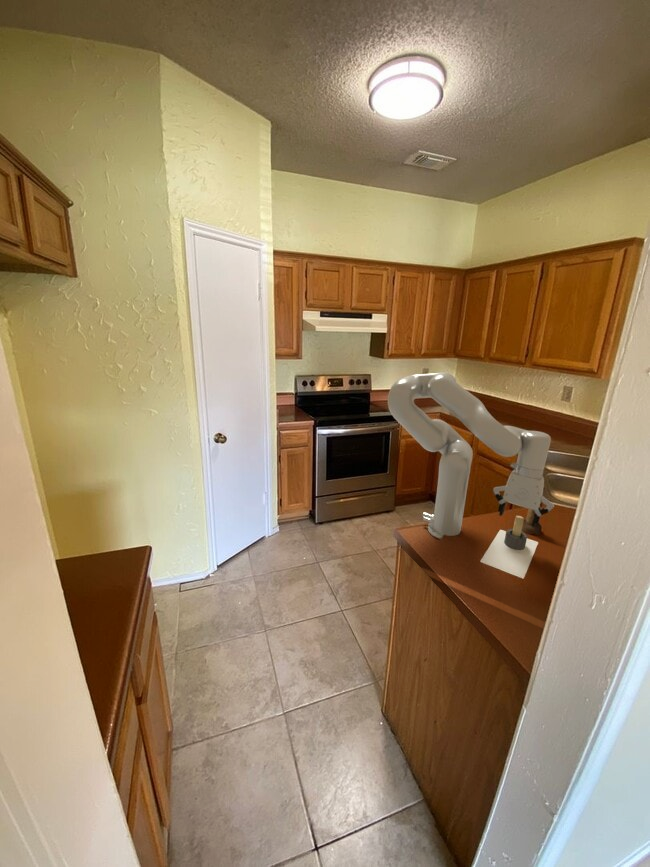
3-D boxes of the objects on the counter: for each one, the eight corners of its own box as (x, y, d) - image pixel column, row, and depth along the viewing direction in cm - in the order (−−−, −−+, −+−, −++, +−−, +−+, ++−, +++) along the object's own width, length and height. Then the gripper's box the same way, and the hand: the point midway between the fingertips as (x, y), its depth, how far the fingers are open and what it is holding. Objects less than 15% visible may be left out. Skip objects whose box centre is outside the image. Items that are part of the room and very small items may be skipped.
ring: (502, 545, 119) (504, 534, 118) (506, 537, 123) (508, 527, 122) (522, 552, 115) (524, 541, 114) (526, 544, 120) (528, 533, 119)
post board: (479, 565, 111) (485, 532, 107) (499, 533, 129) (505, 504, 125) (522, 583, 104) (530, 548, 100) (537, 546, 122) (544, 515, 118)
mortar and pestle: (521, 532, 129) (531, 486, 124) (518, 523, 135) (527, 479, 130) (542, 536, 128) (553, 489, 122) (538, 526, 134) (548, 482, 128)
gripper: (496, 466, 114) (486, 514, 119) (559, 482, 104) (545, 534, 109) (502, 460, 120) (492, 506, 125) (562, 475, 110) (549, 524, 115)
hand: (517, 519), depth 117 cm, fingers open, 9 cm apart
